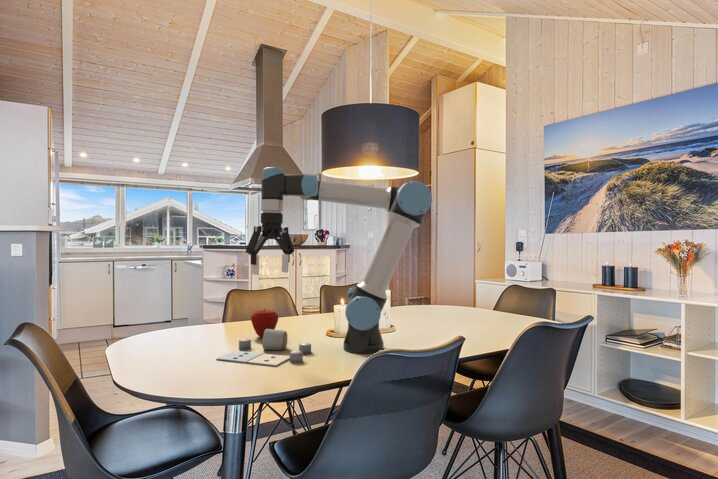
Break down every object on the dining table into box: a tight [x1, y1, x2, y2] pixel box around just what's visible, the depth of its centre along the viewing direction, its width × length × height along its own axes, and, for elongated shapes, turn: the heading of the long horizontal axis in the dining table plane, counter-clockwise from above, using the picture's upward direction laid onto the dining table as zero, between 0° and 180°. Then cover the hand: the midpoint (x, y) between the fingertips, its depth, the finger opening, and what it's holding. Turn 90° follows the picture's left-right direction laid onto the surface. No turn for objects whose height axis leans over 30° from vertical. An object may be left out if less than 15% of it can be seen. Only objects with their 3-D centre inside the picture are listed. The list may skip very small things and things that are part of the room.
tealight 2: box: [289, 350, 304, 364], centre depth 150 cm, size 4×4×3 cm
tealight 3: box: [298, 342, 312, 355], centre depth 161 cm, size 4×4×3 cm
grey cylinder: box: [262, 329, 288, 351], centre depth 167 cm, size 11×8×8 cm
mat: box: [216, 350, 290, 368], centre depth 152 cm, size 23×12×1 cm, turn 71°
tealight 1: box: [238, 338, 252, 351], centre depth 167 cm, size 4×4×3 cm
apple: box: [250, 308, 279, 339], centre depth 186 cm, size 11×11×12 cm
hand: (270, 273), depth 155 cm, fingers open, 13 cm apart
